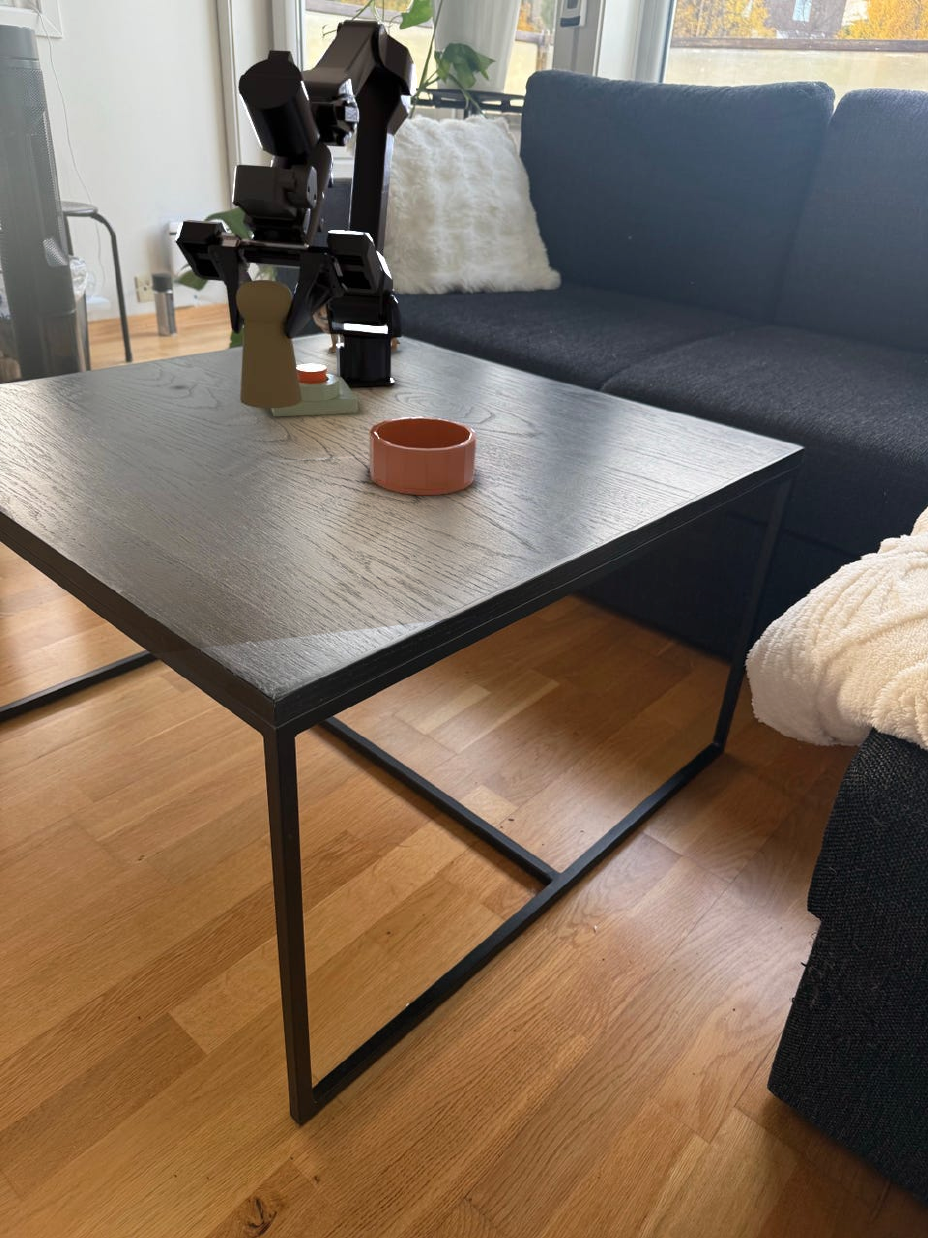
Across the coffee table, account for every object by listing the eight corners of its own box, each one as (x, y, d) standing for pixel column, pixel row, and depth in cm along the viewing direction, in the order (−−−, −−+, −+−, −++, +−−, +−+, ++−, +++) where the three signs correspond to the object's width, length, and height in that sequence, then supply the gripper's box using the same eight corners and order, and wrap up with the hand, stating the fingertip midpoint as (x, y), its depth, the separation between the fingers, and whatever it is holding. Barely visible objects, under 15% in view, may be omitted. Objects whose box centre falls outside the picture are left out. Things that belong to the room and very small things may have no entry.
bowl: (456, 455, 95) (457, 414, 93) (487, 491, 87) (490, 446, 84) (360, 461, 92) (360, 419, 90) (383, 498, 84) (383, 453, 81)
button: (323, 377, 108) (323, 363, 108) (329, 385, 105) (328, 370, 105) (294, 378, 107) (293, 364, 107) (298, 386, 104) (298, 371, 104)
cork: (249, 411, 84) (240, 288, 78) (232, 393, 88) (222, 276, 83) (311, 404, 86) (305, 285, 81) (291, 388, 91) (285, 274, 85)
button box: (342, 390, 115) (341, 362, 113) (358, 413, 107) (358, 384, 105) (264, 393, 112) (262, 365, 111) (274, 417, 104) (272, 387, 102)
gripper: (171, 122, 80) (128, 270, 76) (371, 133, 78) (337, 287, 74) (216, 209, 91) (180, 343, 87) (393, 222, 88) (364, 360, 84)
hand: (261, 333), depth 83 cm, fingers closed on cork, 5 cm apart
